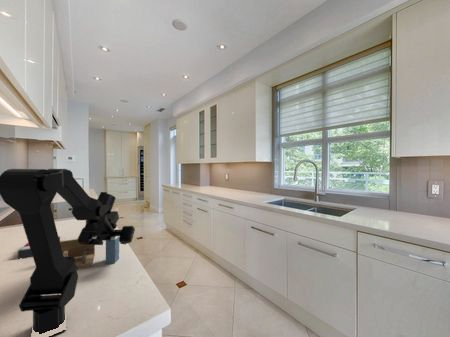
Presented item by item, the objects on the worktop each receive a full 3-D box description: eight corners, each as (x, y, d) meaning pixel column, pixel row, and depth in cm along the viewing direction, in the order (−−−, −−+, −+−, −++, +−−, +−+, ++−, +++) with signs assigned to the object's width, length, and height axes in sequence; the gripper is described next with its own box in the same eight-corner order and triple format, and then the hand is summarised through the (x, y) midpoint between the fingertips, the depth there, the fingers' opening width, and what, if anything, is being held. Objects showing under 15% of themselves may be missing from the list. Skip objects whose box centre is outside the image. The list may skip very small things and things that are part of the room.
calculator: (60, 234, 99) (52, 244, 86) (60, 243, 99) (52, 254, 86) (30, 238, 93) (17, 249, 80) (30, 247, 93) (17, 259, 80)
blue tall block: (114, 263, 78) (115, 233, 78) (105, 263, 78) (105, 233, 78) (119, 258, 82) (119, 230, 82) (110, 258, 82) (110, 230, 82)
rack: (92, 266, 76) (92, 245, 76) (44, 275, 69) (44, 253, 69) (94, 254, 85) (94, 236, 85) (52, 261, 78) (52, 242, 78)
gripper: (133, 206, 77) (142, 225, 88) (82, 206, 75) (97, 226, 86) (125, 233, 69) (135, 250, 80) (68, 234, 67) (87, 251, 78)
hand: (114, 243), depth 81 cm, fingers open, 9 cm apart
